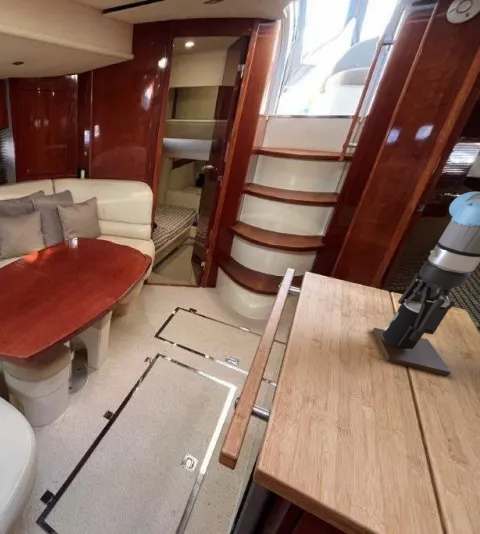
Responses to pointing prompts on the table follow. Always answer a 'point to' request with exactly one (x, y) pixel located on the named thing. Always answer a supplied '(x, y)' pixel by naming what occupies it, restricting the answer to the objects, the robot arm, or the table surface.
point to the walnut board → (413, 355)
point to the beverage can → (401, 322)
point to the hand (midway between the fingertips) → (399, 337)
